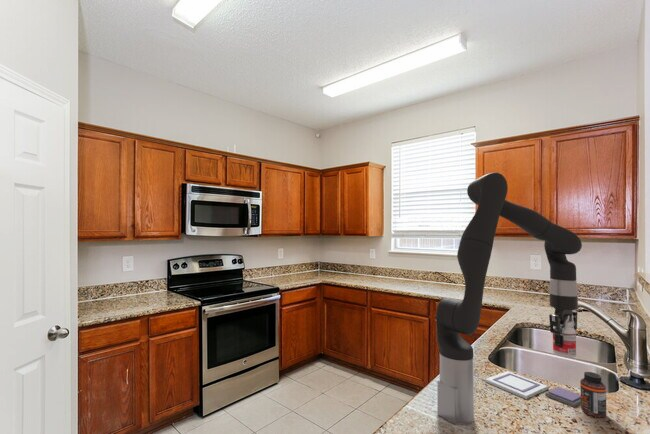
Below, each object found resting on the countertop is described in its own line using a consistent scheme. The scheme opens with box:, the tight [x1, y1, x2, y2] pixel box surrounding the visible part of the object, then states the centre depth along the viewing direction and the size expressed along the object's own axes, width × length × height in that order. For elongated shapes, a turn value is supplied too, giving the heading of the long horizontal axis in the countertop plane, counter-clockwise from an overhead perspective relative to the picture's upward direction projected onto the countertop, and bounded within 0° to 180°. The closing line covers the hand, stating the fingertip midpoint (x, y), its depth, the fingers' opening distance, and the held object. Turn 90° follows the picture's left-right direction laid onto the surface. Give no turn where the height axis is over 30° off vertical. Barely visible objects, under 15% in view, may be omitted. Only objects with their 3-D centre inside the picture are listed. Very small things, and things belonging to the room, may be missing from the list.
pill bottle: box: [552, 321, 577, 359], centre depth 106 cm, size 6×6×11 cm
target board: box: [484, 370, 549, 400], centre depth 114 cm, size 14×14×1 cm
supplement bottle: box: [579, 371, 607, 419], centre depth 97 cm, size 6×6×11 cm
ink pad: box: [545, 386, 581, 408], centre depth 105 cm, size 8×8×2 cm
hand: (564, 344), depth 106 cm, fingers closed on pill bottle, 6 cm apart
